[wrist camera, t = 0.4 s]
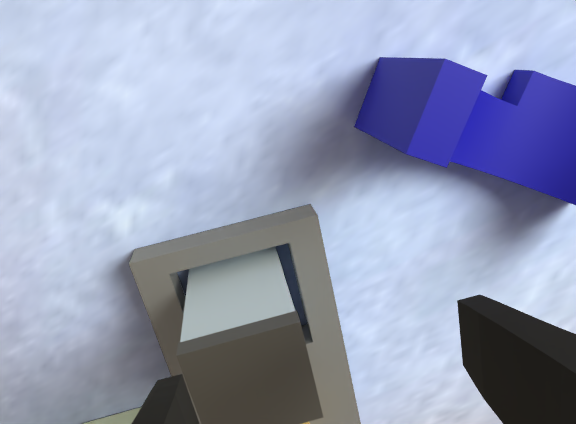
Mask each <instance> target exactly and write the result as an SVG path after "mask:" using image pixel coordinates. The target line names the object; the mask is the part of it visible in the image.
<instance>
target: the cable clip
mask: <svg viewBox="0 0 576 424" xmlns="http://www.w3.org/2000/svg"><path fill="white" fill-rule="evenodd" d="M486 77H487V75H485V74H482V73H480V72H477V71H475V70H472V69H470V68H467V67H465V66H462V65H460V64H457V63H455V62H452V61H450V60H447V59H433V58H386V57H380V59H379V61H378V64H377V67H376V69H375V72H374V75H373V78H372V80H371V83H370V86H369V88H368V91H367V94H366V96H365V99H364V102H363V104H362V107H361V110H360V112H359V115H358V118H357V120H356V123H355V126H354V127H356V128H358V129H359V130H361V131H363V132H365V133H367V134H369V135H371V136H373V137H375V138H376V139H378V140H380V141H382V142H384V143H386V144H388V145H390V146H392V147H393V148H395V149H397V150H399V151H401V152H403V153H405V154H407V155H410V156H413V157H416V158H419V159H422V160H425V161H428V162H431V163H434V164H437V165H440V166H443V167H446V168H447V166H448V164H449V161H450V162H454V163H457V164H460V165H464V166H467V167H470V168H473V169H476V170H479V171H482V172H485V173H488V174H491V175H494V176H497V177H500V178H503V179H506V180H508V181H511V182H514V183H517V184H520V185H523V186H525V187H528V188H531V189H534V190H536V191H539V192H542V193H545V194H547V195H550V196H553V197H555V198H558V199H561V200H563V201H566V202H569V203H571V204H574V205H576V86H575V85H572V84H569V83H566V82H563V81H560V80H557V79H554V78H551V77H549V76H546V75H543V74H541V73H538V72H536V71H529V70H514V72H513V75H512V77H511V79H510V81H509V83H508V86H507V88H506V90H505V92H504V94H503V97H502V99H498V98H496V97H494V96H492V95H489V94H487V93H485V92H483V91H481V89H482V86H483V84H484V82H485V80H486Z"/></svg>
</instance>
